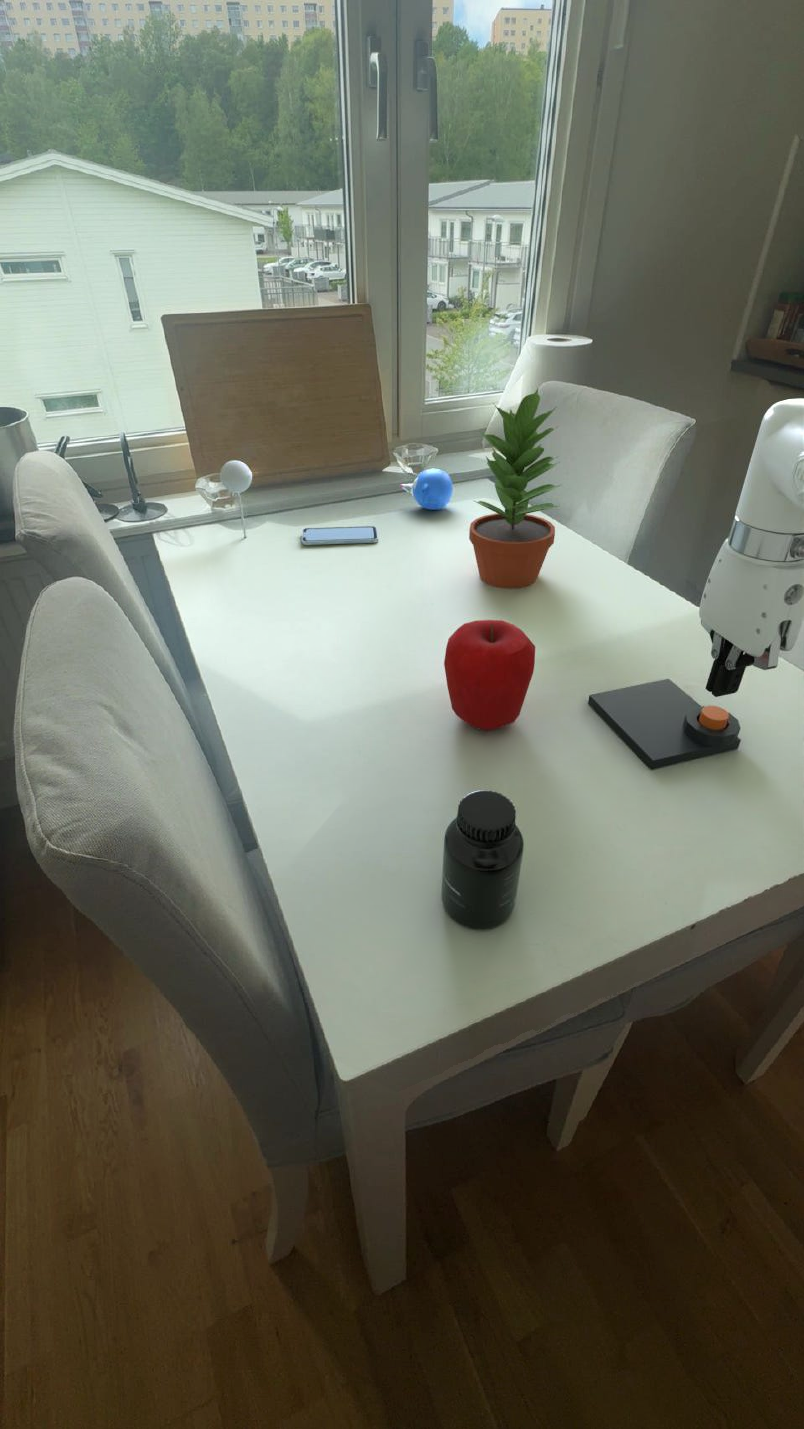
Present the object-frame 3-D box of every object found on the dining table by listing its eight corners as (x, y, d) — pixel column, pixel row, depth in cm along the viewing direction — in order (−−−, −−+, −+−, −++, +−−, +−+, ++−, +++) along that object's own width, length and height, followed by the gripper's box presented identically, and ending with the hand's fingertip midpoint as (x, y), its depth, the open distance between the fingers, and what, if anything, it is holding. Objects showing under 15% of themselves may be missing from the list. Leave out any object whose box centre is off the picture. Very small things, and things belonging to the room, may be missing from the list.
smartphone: (378, 539, 133) (301, 541, 132) (378, 543, 134) (301, 546, 133) (376, 525, 139) (302, 528, 138) (376, 529, 140) (303, 532, 139)
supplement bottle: (428, 915, 62) (430, 820, 55) (459, 864, 67) (464, 771, 60) (499, 945, 59) (510, 849, 52) (525, 889, 64) (539, 795, 57)
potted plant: (457, 589, 116) (464, 400, 99) (478, 555, 128) (487, 381, 110) (544, 600, 112) (567, 406, 95) (557, 565, 124) (580, 385, 106)
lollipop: (224, 541, 136) (211, 464, 127) (238, 530, 140) (226, 455, 131) (252, 544, 134) (241, 466, 125) (265, 533, 139) (255, 457, 130)
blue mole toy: (408, 496, 156) (407, 459, 151) (458, 501, 153) (459, 463, 148) (391, 514, 147) (390, 474, 142) (444, 519, 144) (444, 479, 139)
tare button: (731, 728, 79) (735, 717, 79) (709, 733, 79) (713, 722, 78) (714, 713, 82) (717, 703, 81) (693, 718, 81) (696, 708, 80)
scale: (743, 750, 80) (751, 730, 78) (653, 772, 77) (658, 752, 75) (669, 686, 91) (674, 667, 90) (587, 703, 88) (590, 684, 87)
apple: (428, 726, 85) (429, 631, 77) (468, 688, 92) (473, 597, 84) (504, 755, 80) (514, 657, 72) (540, 713, 87) (553, 618, 79)
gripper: (863, 562, 62) (796, 722, 73) (749, 508, 74) (706, 653, 84) (796, 573, 60) (738, 736, 71) (690, 517, 72) (654, 664, 83)
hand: (721, 691), depth 78 cm, fingers closed
